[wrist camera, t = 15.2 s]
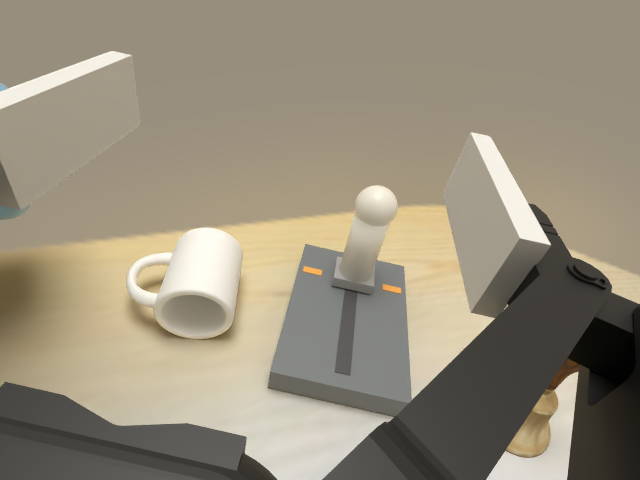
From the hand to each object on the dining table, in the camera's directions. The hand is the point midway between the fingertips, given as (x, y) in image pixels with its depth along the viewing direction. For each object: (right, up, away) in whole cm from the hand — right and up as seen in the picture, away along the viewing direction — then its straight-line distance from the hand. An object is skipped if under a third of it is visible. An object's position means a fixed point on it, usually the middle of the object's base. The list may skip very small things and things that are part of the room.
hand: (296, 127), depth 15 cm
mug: (-15, -12, +30) cm, 35 cm away
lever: (+5, -9, +33) cm, 35 cm away
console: (+4, -15, +31) cm, 35 cm away
